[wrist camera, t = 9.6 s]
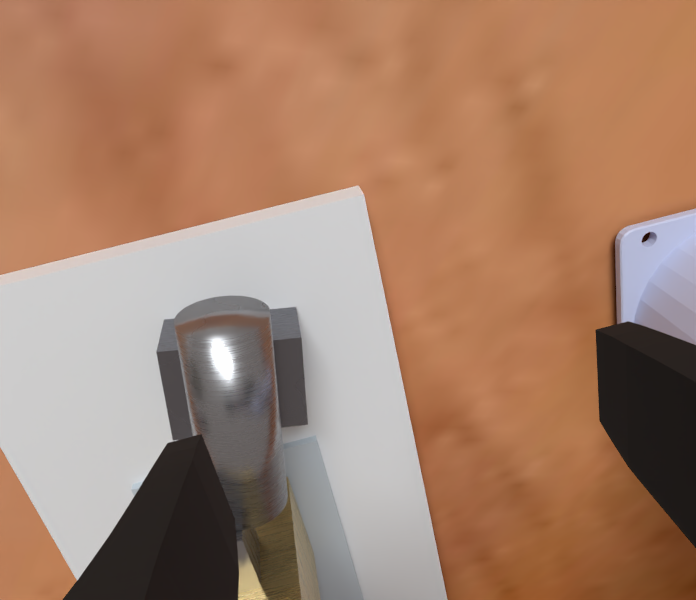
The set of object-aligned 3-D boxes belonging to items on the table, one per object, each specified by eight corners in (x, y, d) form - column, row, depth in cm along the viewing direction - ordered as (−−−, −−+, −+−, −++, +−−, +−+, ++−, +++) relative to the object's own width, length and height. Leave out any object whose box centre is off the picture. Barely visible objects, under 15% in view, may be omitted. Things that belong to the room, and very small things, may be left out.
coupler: (272, 432, 21) (283, 556, 17) (325, 587, 25) (345, 720, 21) (152, 464, 21) (133, 597, 17) (225, 615, 25) (224, 754, 21)
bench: (358, 185, 20) (365, 197, 19) (462, 684, 31) (471, 711, 30) (-66, 291, 19) (-86, 311, 18) (195, 760, 30) (193, 791, 29)
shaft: (156, 273, 19) (133, 346, 15) (292, 261, 19) (305, 329, 16) (185, 439, 22) (172, 539, 18) (304, 425, 22) (319, 519, 18)
